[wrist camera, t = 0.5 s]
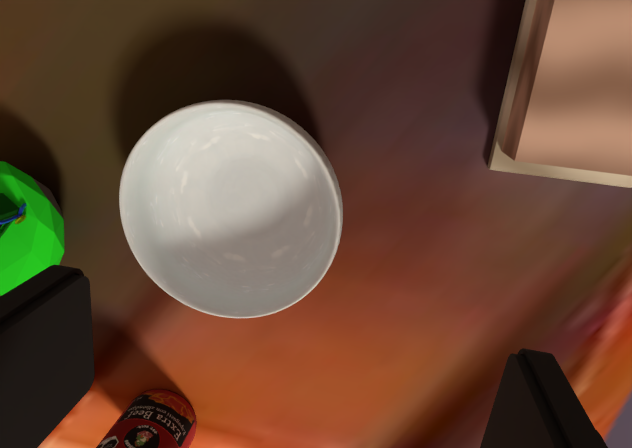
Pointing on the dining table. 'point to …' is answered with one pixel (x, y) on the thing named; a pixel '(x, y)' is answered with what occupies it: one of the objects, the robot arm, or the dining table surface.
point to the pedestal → (569, 94)
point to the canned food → (153, 423)
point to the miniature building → (27, 228)
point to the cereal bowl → (231, 208)
